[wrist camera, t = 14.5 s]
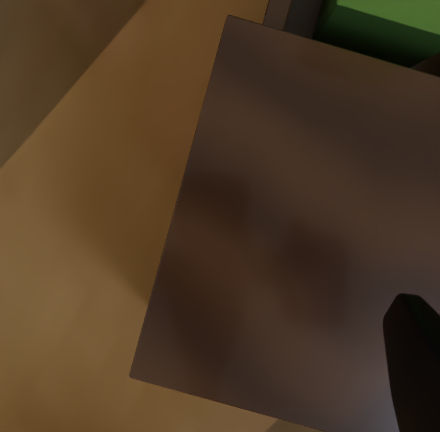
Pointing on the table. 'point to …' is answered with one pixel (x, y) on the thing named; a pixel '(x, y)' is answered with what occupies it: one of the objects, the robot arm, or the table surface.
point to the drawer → (306, 21)
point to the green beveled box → (382, 28)
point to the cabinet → (297, 232)
